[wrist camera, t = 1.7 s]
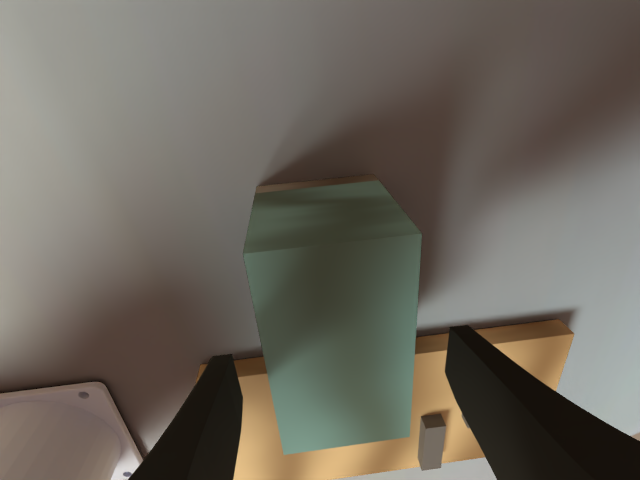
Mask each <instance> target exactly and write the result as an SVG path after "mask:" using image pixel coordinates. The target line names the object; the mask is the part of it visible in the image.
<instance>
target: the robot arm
mask: <svg viewBox="0 0 640 480" xmlns="http://www.w3.org/2000/svg"><path fill="white" fill-rule="evenodd" d="M445 374H446V377H447V380H448V382H449V385H450V388H451V390H452V393H453V395H454V398H455V400H456V402H457V404H458V406H459V408H460V410H461V412H462V414H463V416H464V418H465V420H466V421H467V423H468V425H469V427H470V429H471V431H472V433H473V435H474V437H475V438H476V440H477V442H478V444H479V446H480V448H481V450H482V451H483V453H484V455H485V457H486V459H487V461H488V463H489V465H490V466H491V468H492V470H493V472H494V474H495V476H496V478H497V480H640V441H638V440H636V439H634V438H632V437H631V436H629V435H627V434H625V433H623V432H621V431H620V430H618V429H616V428H614V427H612V426H611V425H609V424H607V423H605V422H604V421H602V420H600V419H599V418H597V417H595V416H594V415H592V414H590V413H589V412H587V411H585V410H584V409H582V408H581V407H579V406H577V405H576V404H574V403H572V402H571V401H569V400H568V399H566V398H565V397H563V396H562V395H560V394H559V393H557V392H556V391H554V390H553V389H551V388H550V387H549V386H547V385H546V384H544V383H543V382H541V381H540V380H538V379H537V378H536V377H534V376H533V375H531V374H530V373H529V372H527V371H526V370H525V369H523V368H522V367H521V366H519V365H518V364H517V363H515V362H514V361H513V360H511V359H510V358H509V357H508V356H506V355H505V354H504V353H502V352H501V351H500V350H499V349H497V348H496V347H495V346H494V345H492V344H491V343H490V342H488V341H487V340H486V339H485V338H483V337H482V336H481V335H480V334H478V333H477V332H476V331H475V330H473V329H472V328H471V327H470V326H468V325H465V326H456V327H450V330H449V338H448V347H447V355H446V363H445ZM242 411H243V395H242V391H241V387H240V383H239V380H238V376H237V372H236V368H235V364H234V360H233V356H232V354H228V355H220V356H213V357H212V358H211V359H210V361H209V362H208V364H207V366H206V368H205V369H204V371H203V373H202V375H201V376H200V378H199V380H198V381H197V383H196V385H195V386H194V388H193V390H192V391H191V393H190V394H189V396H188V398H187V399H186V401H185V402H184V404H183V405H182V407H181V408H180V410H179V411H178V413H177V414H176V416H175V417H174V419H173V420H172V422H171V423H170V425H169V426H168V428H167V429H166V430H165V432H164V433H163V435H162V436H161V437H160V439H159V440H158V442H157V443H156V444H155V446H154V447H153V448H152V450H151V451H150V452H149V454H148V455H147V456H146V458H145V459H144V460H143V459H142V457H141V455H140V453H139V451H138V449H137V447H136V445H135V443H134V441H133V439H132V437H131V435H130V433H129V431H128V429H127V427H126V425H125V423H124V421H123V419H122V417H121V415H120V413H119V411H118V409H117V407H116V405H115V403H114V401H113V399H112V397H111V395H110V393H109V392H108V390H107V388H106V386H105V385H104V384H102V383H100V382H88V383H80V384H72V385H64V386H56V387H48V388H40V389H33V390H25V391H17V392H9V393H1V394H0V480H124V479H128V480H233V478H234V472H235V466H236V460H237V454H238V448H239V442H240V435H241V427H242Z"/></svg>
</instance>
